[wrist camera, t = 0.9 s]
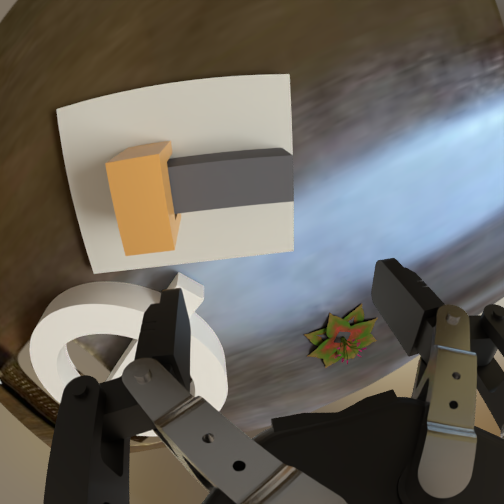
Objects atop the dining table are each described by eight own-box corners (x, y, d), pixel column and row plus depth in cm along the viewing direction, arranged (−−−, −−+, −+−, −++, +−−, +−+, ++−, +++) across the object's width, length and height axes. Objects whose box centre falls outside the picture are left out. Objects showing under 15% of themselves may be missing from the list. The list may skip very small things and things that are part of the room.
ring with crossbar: (200, 261, 35) (200, 285, 30) (239, 404, 48) (242, 427, 44) (10, 295, 33) (-5, 315, 29) (91, 415, 46) (87, 435, 42)
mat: (62, 108, 24) (56, 109, 23) (285, 75, 26) (289, 74, 25) (97, 266, 33) (93, 273, 31) (290, 244, 35) (293, 251, 33)
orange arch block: (128, 147, 26) (105, 163, 20) (170, 140, 26) (159, 153, 20) (141, 221, 29) (125, 256, 23) (181, 216, 30) (174, 250, 23)
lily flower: (318, 373, 47) (326, 395, 43) (288, 330, 41) (296, 354, 37) (385, 338, 45) (397, 357, 41) (367, 287, 40) (381, 308, 36)
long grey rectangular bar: (131, 164, 27) (120, 174, 23) (282, 147, 28) (292, 155, 24) (139, 204, 29) (129, 219, 25) (283, 188, 30) (293, 201, 26)
